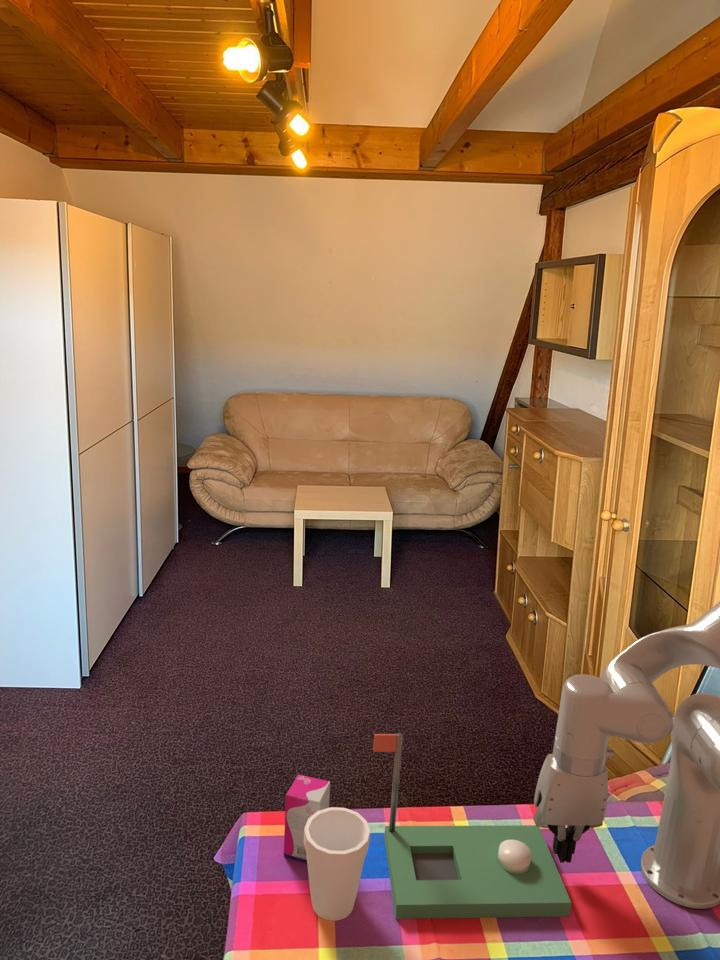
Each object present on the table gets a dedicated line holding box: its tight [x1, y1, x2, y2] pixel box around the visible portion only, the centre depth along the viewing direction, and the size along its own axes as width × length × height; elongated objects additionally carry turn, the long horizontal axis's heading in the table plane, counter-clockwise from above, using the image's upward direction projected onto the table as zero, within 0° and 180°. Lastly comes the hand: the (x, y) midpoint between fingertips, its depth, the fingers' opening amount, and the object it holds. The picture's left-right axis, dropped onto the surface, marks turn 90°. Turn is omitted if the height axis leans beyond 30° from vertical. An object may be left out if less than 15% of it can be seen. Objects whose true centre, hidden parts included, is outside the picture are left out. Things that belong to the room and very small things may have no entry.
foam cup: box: [304, 806, 371, 922], centre depth 110 cm, size 10×9×13 cm
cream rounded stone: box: [498, 840, 532, 874], centre depth 118 cm, size 5×5×2 cm
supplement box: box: [283, 774, 331, 863], centre depth 120 cm, size 6×6×12 cm
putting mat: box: [372, 732, 572, 920], centre depth 115 cm, size 29×16×20 cm, turn 94°
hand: (562, 855), depth 118 cm, fingers closed
